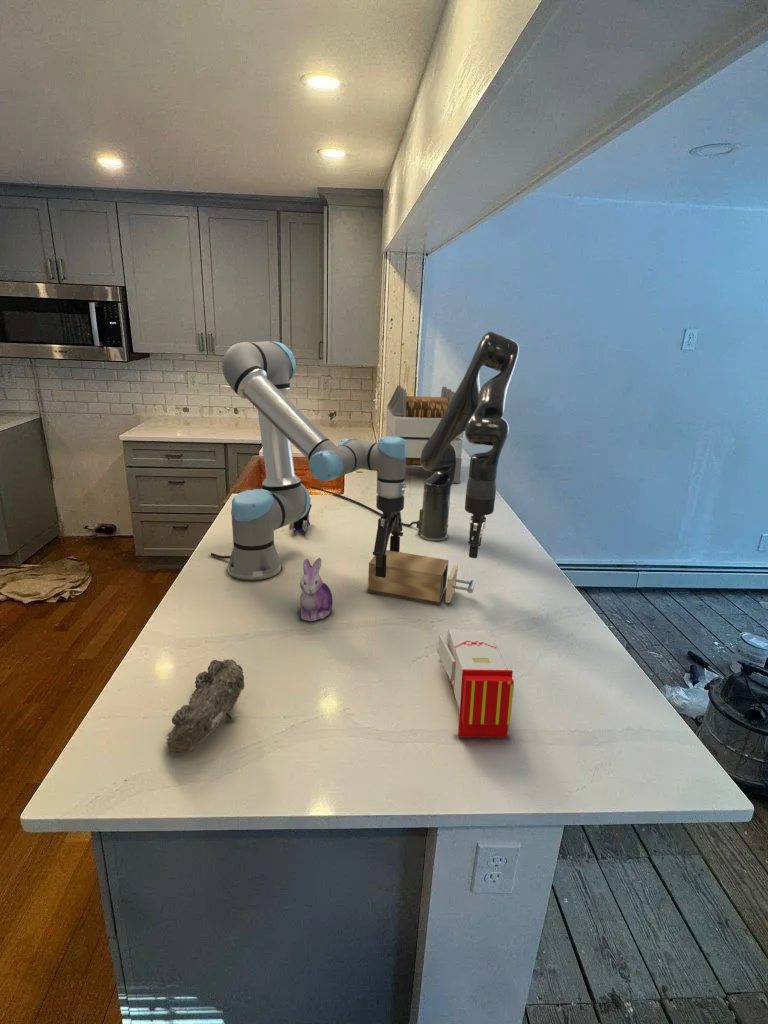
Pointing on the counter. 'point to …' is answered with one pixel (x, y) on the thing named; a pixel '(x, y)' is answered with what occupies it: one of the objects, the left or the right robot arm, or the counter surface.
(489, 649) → the toy
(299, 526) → the figurine character
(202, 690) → the fossil
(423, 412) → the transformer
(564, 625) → the counter surface
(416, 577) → the cabinet
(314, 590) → the figurine
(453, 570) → the drawer
